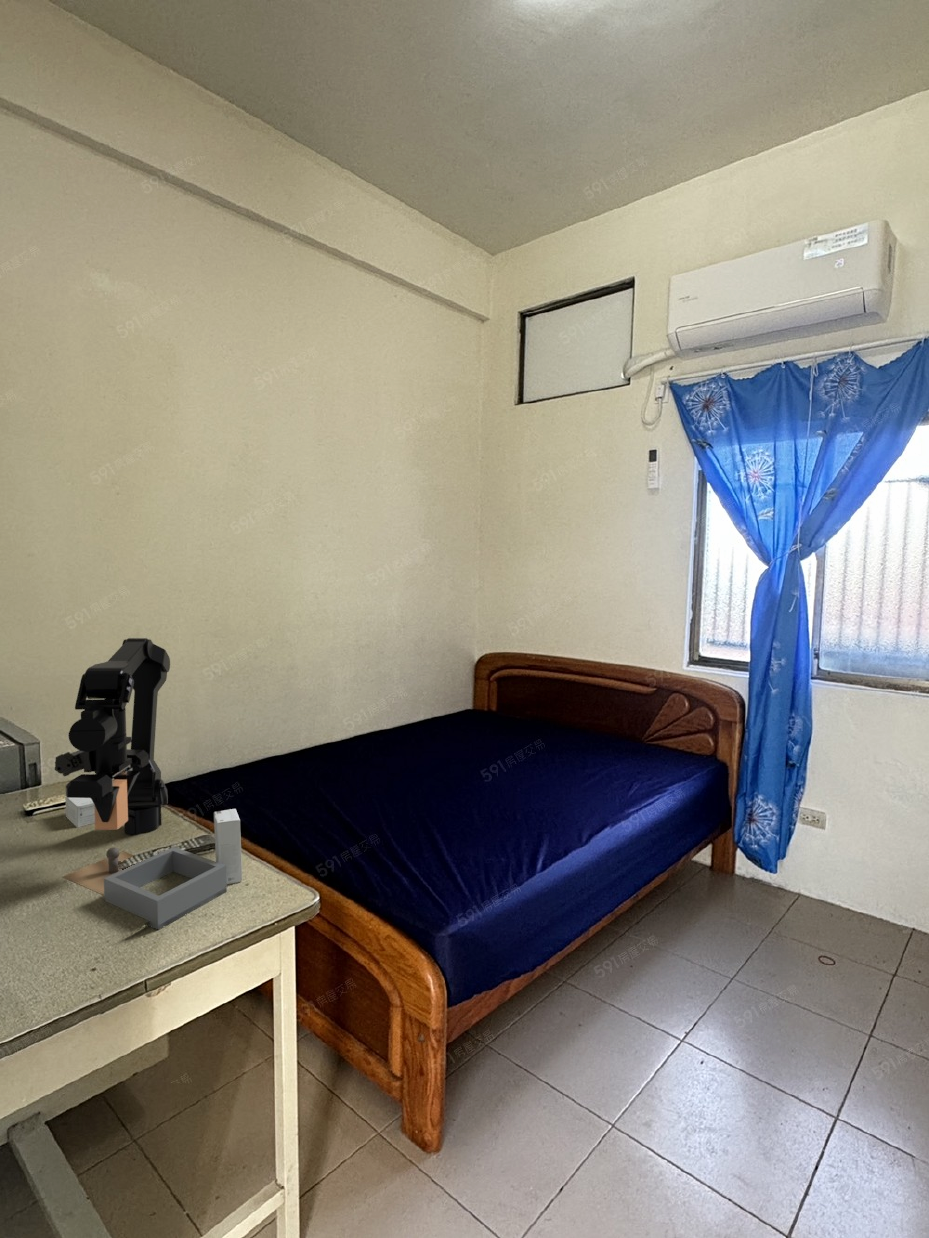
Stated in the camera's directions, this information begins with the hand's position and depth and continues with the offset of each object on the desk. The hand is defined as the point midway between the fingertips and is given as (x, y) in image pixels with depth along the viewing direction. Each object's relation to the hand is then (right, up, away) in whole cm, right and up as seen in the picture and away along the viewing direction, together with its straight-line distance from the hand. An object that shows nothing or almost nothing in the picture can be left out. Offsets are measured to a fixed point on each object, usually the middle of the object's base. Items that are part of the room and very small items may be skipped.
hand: (111, 816), depth 123 cm
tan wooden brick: (0, -2, 0) cm, 2 cm away
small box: (-19, -9, +27) cm, 34 cm away
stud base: (0, -12, +1) cm, 12 cm away
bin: (+13, -13, -6) cm, 19 cm away
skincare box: (+21, -12, +2) cm, 24 cm away
